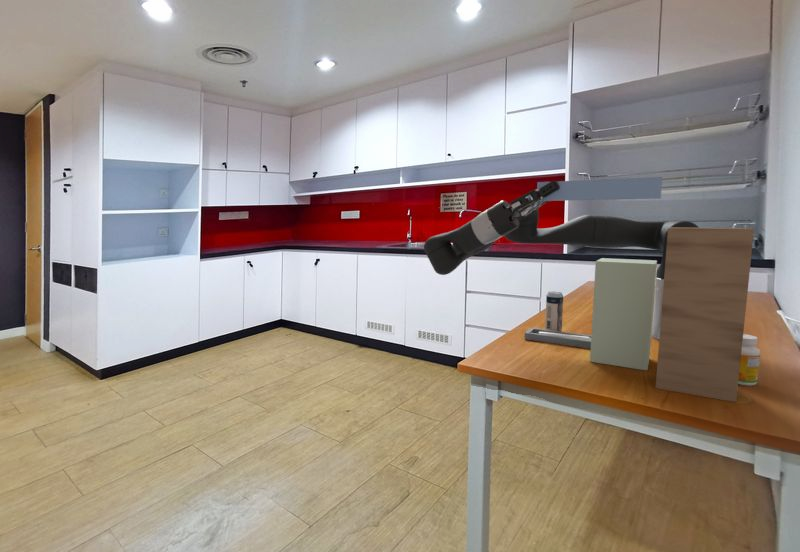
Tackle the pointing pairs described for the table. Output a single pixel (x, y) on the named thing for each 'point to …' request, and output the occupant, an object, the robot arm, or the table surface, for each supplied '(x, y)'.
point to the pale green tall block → (623, 312)
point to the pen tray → (557, 338)
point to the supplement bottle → (749, 361)
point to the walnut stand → (704, 310)
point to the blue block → (606, 189)
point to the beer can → (554, 311)
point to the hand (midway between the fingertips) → (559, 184)
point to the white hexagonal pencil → (566, 336)
